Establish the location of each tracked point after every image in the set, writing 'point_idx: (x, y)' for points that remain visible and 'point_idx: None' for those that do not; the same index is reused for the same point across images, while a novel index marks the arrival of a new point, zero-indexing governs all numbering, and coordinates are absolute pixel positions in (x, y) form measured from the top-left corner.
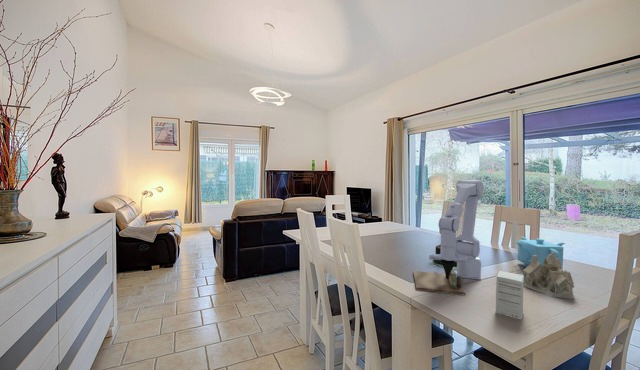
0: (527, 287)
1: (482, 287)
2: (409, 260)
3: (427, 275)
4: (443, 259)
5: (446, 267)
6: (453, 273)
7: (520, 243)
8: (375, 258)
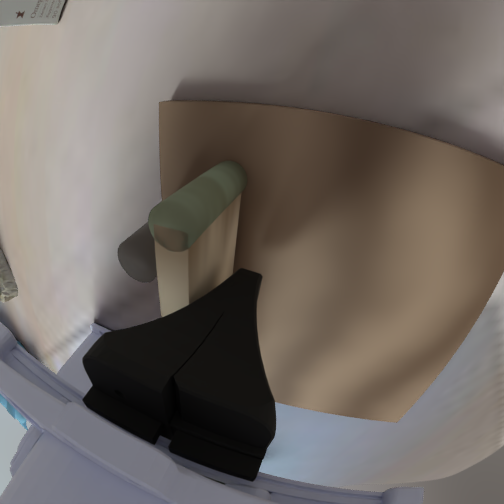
0: (1, 251)
1: (82, 243)
2: (336, 475)
3: (350, 382)
4: (220, 476)
5: (220, 352)
6: (169, 278)
7: (7, 408)
8: (448, 475)
